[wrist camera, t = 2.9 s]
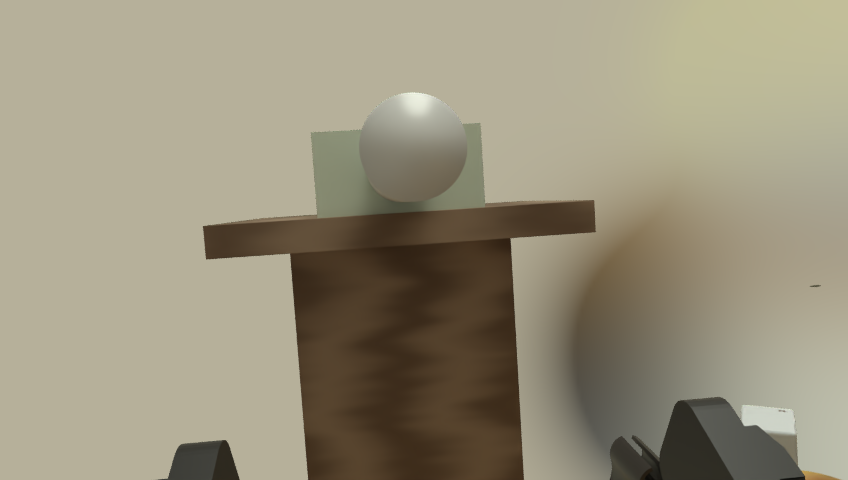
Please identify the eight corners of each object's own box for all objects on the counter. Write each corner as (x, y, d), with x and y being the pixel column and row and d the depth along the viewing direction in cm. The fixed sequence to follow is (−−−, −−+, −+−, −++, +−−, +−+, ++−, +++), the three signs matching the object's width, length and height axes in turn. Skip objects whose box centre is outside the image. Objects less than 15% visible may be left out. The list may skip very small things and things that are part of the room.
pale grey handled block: (462, 206, 37) (458, 140, 37) (558, 210, 17) (551, 66, 17) (330, 214, 37) (325, 147, 36) (272, 229, 17) (260, 81, 16)
